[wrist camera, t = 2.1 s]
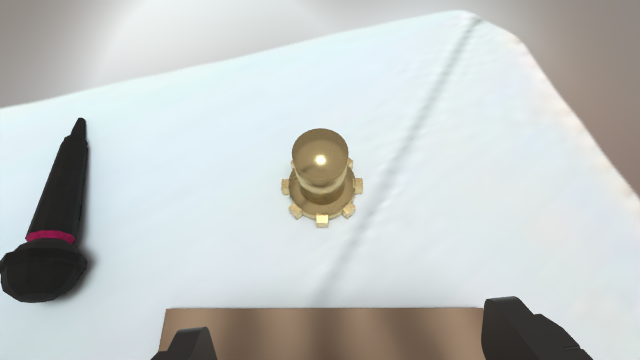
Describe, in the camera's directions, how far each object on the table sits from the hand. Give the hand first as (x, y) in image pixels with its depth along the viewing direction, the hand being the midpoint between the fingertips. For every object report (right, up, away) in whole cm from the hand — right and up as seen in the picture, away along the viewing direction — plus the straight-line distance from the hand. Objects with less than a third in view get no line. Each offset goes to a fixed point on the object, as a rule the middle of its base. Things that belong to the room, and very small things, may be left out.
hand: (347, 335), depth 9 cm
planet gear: (-1, +4, +22) cm, 23 cm away
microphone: (-25, +2, +23) cm, 34 cm away
